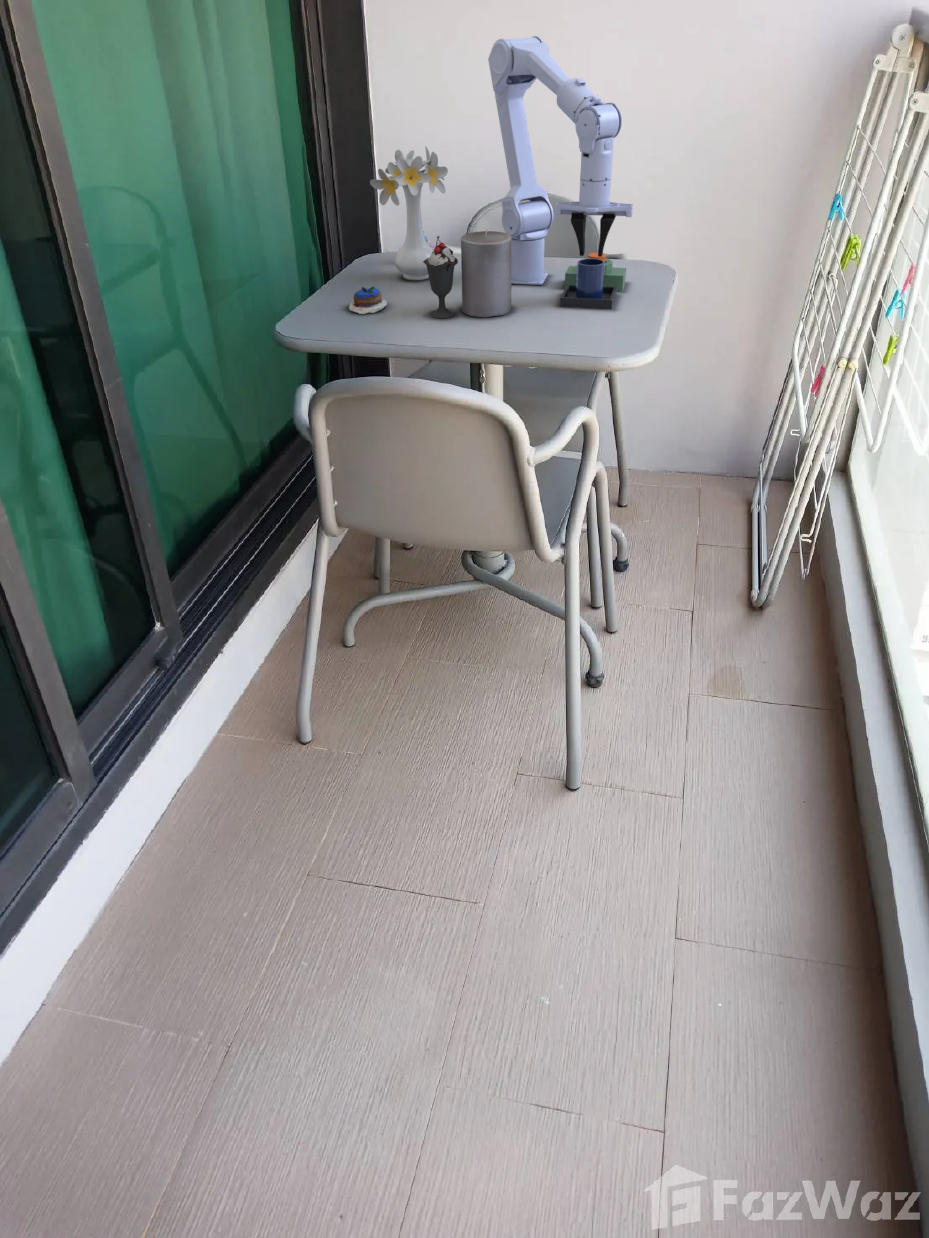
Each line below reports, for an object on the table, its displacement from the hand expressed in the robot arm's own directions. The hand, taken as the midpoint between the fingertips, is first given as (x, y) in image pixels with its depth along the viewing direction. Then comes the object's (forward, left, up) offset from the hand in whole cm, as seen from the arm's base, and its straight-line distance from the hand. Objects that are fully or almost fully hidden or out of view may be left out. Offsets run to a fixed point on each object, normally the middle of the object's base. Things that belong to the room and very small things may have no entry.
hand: (591, 255), depth 176 cm
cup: (0, 0, -8) cm, 8 cm away
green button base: (0, +10, -9) cm, 14 cm away
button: (0, +10, -4) cm, 11 cm away
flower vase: (-39, +11, -9) cm, 42 cm away
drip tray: (0, 0, -9) cm, 9 cm away
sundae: (-27, -13, -9) cm, 31 cm away
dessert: (-43, -11, -9) cm, 45 cm away
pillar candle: (-19, -9, -9) cm, 23 cm away
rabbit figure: (-43, +27, -9) cm, 52 cm away
